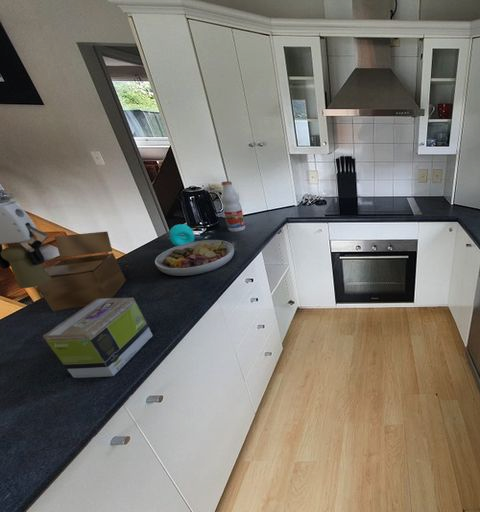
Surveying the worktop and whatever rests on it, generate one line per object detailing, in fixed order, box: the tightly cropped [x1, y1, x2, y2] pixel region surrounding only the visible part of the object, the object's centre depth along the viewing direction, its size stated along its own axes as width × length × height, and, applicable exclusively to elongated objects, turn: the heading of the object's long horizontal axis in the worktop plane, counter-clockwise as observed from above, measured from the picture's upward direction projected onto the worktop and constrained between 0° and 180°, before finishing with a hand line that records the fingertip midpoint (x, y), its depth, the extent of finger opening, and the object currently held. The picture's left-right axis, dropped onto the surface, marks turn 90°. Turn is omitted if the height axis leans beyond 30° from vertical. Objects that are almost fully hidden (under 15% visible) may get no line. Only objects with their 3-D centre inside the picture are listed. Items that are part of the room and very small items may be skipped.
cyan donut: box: [169, 223, 196, 247], centre depth 140 cm, size 10×10×10 cm
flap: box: [54, 231, 113, 259], centre depth 101 cm, size 15×8×1 cm
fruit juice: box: [220, 180, 246, 233], centre depth 157 cm, size 9×9×28 cm
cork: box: [0, 244, 51, 289], centre depth 74 cm, size 6×6×11 cm
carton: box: [36, 252, 127, 312], centre depth 98 cm, size 15×16×13 cm
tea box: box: [42, 297, 154, 379], centre depth 72 cm, size 15×10×15 cm
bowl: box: [154, 239, 235, 277], centre depth 123 cm, size 30×30×8 cm
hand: (24, 264), depth 74 cm, fingers closed on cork, 5 cm apart
